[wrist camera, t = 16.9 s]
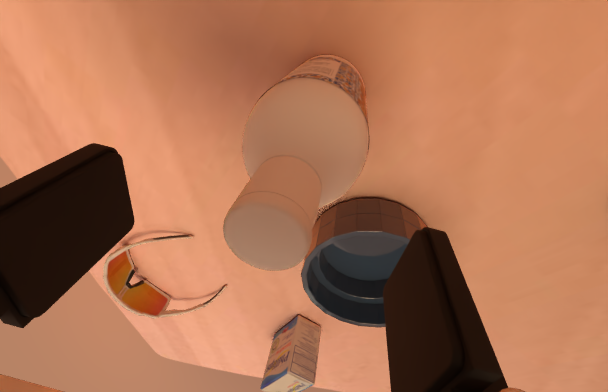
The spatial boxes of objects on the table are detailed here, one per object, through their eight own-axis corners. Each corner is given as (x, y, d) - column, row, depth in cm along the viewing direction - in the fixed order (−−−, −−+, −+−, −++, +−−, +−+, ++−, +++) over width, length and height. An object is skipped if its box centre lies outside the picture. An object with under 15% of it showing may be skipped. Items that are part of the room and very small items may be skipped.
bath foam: (351, 140, 27) (339, 330, 11) (283, 122, 28) (167, 280, 11) (377, 65, 24) (418, 179, 7) (297, 44, 24) (152, 105, 7)
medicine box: (298, 313, 43) (286, 372, 36) (322, 326, 44) (315, 386, 37) (274, 333, 48) (258, 390, 40) (295, 345, 48) (284, 402, 41)
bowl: (300, 269, 38) (291, 307, 33) (324, 182, 30) (317, 214, 25) (402, 297, 38) (409, 339, 33) (453, 215, 30) (472, 254, 25)
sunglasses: (104, 241, 42) (79, 265, 37) (191, 214, 39) (176, 237, 35) (158, 303, 48) (143, 330, 44) (237, 284, 45) (229, 310, 41)
